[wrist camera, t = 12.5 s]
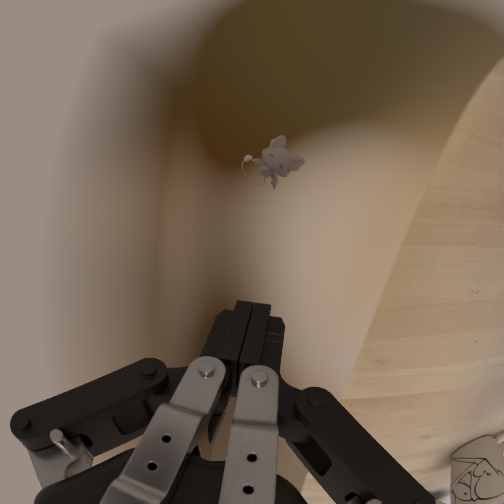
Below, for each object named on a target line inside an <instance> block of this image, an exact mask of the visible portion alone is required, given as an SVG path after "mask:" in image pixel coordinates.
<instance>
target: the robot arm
mask: <svg viewBox="0 0 504 504" xmlns="http://www.w3.org/2000/svg"><path fill="white" fill-rule="evenodd" d="M270 311H271V305H269V304H262V303H255V304H254V303H253V302H247V301H240V300H237V302H236V305H235V308H234V311H231V310H223V311H222V312H221V313H219V314H218V315H217V317H216V319H215V321H214V324H213V326H212V328H211V331H210V333H209V336H208V338H207V341H206V343H205V345H204V348H203V350H202V353H201V355H200V357H199V358H197V359H195V360H193V361H192V362H191V363H190V365H189V366H186V367H181V368H166V365H165V364H164V363H163V362H162V361H161V360H159V359H156V358H145V359H142V360H139V361H137V362H135V363H133V364H130V365H128V366H126V367H124V368H121V369H119V370H117V371H114V372H112V373H110V374H107V375H105V376H103V377H100V378H98V379H96V380H93V381H91V382H89V383H86V384H84V385H81V386H79V387H77V388H74V389H72V390H69V391H67V392H64V393H62V394H59V395H57V396H54V397H52V398H49V399H46V400H44V401H41V402H39V403H36V404H33V405H31V406H28V407H25V408H23V409H20V410H18V411H17V412H16V413H14V415H13V416H12V418H11V421H10V428H11V431H12V433H13V434H14V435H15V436H16V437H17V439H19V441H20V442H22V443H23V445H24V446H25V447H26V448H27V450H28V452H29V455H30V458H31V460H32V463H33V466H34V469H35V471H36V474H37V477H38V479H39V482H40V484H41V487H42V490H41V491H40V492H39V493H38V495H37V496H36V498H35V501H34V504H308V503H307V502H306V501H305V499H304V498H303V497H302V495H301V494H300V493H299V491H298V490H297V489H296V488H295V487H294V486H293V485H292V484H291V483H290V482H289V481H288V480H286V479H285V478H283V477H281V476H279V475H277V474H276V473H277V455H278V454H277V453H278V436H280V437H282V438H285V440H286V442H287V444H288V445H289V447H290V448H291V449H292V450H293V452H294V453H295V454H296V455H297V457H298V458H299V459H300V461H301V462H302V463H303V464H304V466H305V467H306V468H307V469H308V471H309V472H310V473H311V474H312V476H313V477H314V478H315V479H316V480H317V482H318V483H319V484H320V485H321V486H322V488H323V489H324V490H325V491H326V492H327V493H328V495H329V496H330V497H331V498H332V499H333V500H334V502H335V503H336V504H436V501H435V499H434V497H433V496H432V495H431V494H430V493H429V492H428V491H427V490H426V489H425V488H424V487H423V486H422V485H421V484H420V483H418V482H417V481H416V480H415V479H414V478H413V477H412V476H411V475H410V474H409V473H408V472H407V471H406V470H405V469H404V468H403V467H402V466H401V465H400V464H399V463H398V462H397V461H396V460H395V459H394V458H393V457H392V456H391V455H390V454H389V453H388V452H387V451H386V450H385V449H384V448H383V447H382V446H381V445H380V444H379V443H378V442H377V441H376V440H375V439H374V438H373V437H372V436H371V435H370V434H369V433H368V432H367V431H366V430H365V429H364V428H363V427H362V426H361V425H360V424H359V423H358V422H357V420H356V419H355V418H354V417H353V416H352V415H351V414H350V413H349V412H348V411H347V410H346V409H345V408H344V407H343V406H342V405H341V404H340V403H339V402H338V401H337V399H336V398H335V397H334V396H333V395H332V394H331V393H330V392H328V391H327V390H325V389H323V388H320V387H309V388H306V389H304V390H299V389H297V388H294V387H292V386H290V385H288V384H287V383H286V382H285V381H284V380H283V379H282V377H281V375H280V363H281V355H282V348H283V339H284V331H285V325H284V323H283V320H282V318H280V317H272V316H270ZM237 391H238V395H237ZM236 395H237V401H236V408H235V414H234V420H233V421H232V426H231V432H230V438H229V444H228V450H227V457H226V461H209V460H210V456H211V450H212V447H213V444H214V441H215V439H216V436H217V434H218V431H219V429H220V426H221V423H222V421H223V418H224V415H225V413H226V407H227V405H228V401H229V398H230V396H232V397H236ZM141 435H143V436H142V437H141V439H140V441H139V443H138V444H137V446H136V448H132V449H129V450H126V451H124V452H122V453H120V454H118V455H116V456H114V457H112V458H110V459H108V460H106V461H104V462H102V463H100V464H98V465H95V466H93V467H91V466H92V463H93V457H95V456H98V455H100V454H102V453H104V452H107V451H109V450H111V449H113V448H116V447H118V446H120V445H122V444H124V443H126V442H128V441H131V440H133V439H135V438H137V437H139V436H141Z"/></svg>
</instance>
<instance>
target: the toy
mask: <svg viewBox="0 0 504 504" xmlns="http://www.w3.org/2000/svg"><path fill="white" fill-rule="evenodd" d="M285 146H286V139H285V136H284V135H280V136H278V137H276V138H275V139H272V141H271V142H270V146H269V147H268V148H266V149H263V150H262V157H263V160H262V159H252V158H253V157H252V156H250V155H247V156H246V157H245V158H244V160H245V161H249V160H250V159H252V161H253V162H255V163H256V165H258V164H259V165H260V167H259V172H260V174H261V175H262V176H263V177H264V180H265V177H268V176H271V179H272V180H271V184H272V186H273V190H274V189H275V188H276V186H277V182H278V180H277V176H276V175H278V176H281V177H287V175H288V174H289V172H290V171H297V170H298V169H299V167H300V166H302V165H303V164H304V162H305V160H304V159H303V158H301V157H298V156H291V155H290V153H289V152H288V151H287V150H286V149H285ZM242 164H243V163H242ZM244 173H245V172H244ZM274 173H275V174H276V175H275V174H274ZM264 183H265V181H264ZM264 183H263V184H264ZM263 184H262V185H263ZM258 186H259V185H258ZM260 186H261V185H260Z"/></svg>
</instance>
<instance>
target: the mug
mask: <svg viewBox="0 0 504 504" xmlns="http://www.w3.org/2000/svg"><path fill="white" fill-rule="evenodd" d="M503 452H504V441H503V442H502V443H500V444H497V443H496V441H495V440H494V438H493V437H492V436H484V437H481V438H478V439H476V440H473V441H471V442H469V443H468V444H466V445H464V446H463V447H461V448H460V449H458V450H457V451H456V452H455V453H454V454H453V455H452V458H451V488H450V493H451V504H500V503H502V502H504V456H503Z"/></svg>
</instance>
